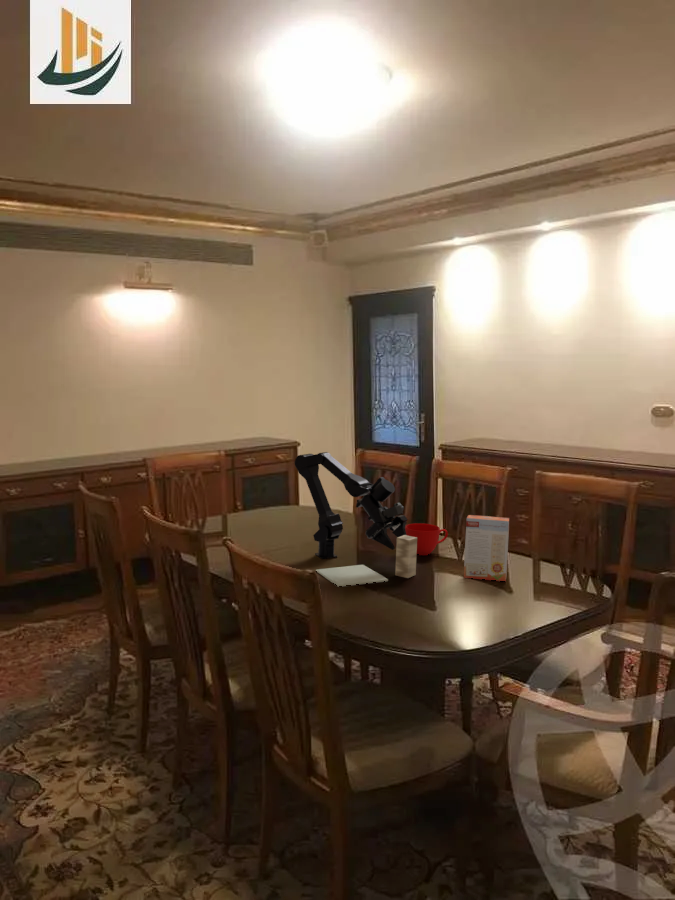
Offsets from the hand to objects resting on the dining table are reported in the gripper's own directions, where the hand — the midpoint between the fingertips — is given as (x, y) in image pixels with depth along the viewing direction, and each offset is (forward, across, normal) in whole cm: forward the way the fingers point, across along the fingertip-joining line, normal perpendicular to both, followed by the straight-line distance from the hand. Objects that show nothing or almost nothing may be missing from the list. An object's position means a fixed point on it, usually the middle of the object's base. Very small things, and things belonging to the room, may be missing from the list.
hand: (401, 546), depth 246 cm
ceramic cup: (+2, +30, +12) cm, 32 cm away
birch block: (+8, 0, +5) cm, 10 cm away
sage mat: (-1, -14, +14) cm, 20 cm away
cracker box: (+24, +16, -10) cm, 30 cm away
